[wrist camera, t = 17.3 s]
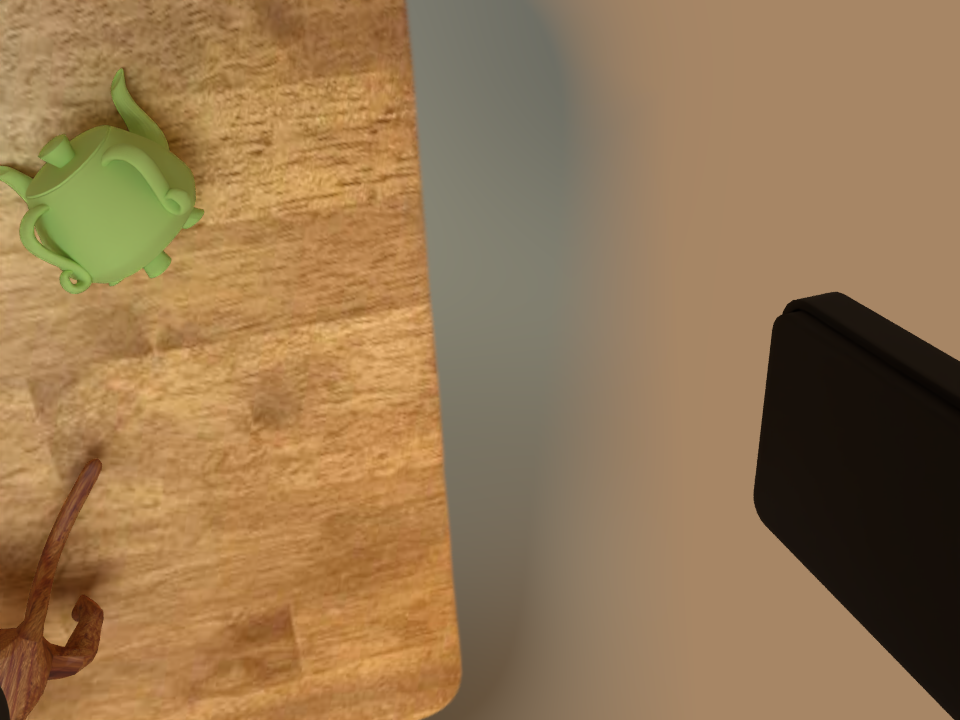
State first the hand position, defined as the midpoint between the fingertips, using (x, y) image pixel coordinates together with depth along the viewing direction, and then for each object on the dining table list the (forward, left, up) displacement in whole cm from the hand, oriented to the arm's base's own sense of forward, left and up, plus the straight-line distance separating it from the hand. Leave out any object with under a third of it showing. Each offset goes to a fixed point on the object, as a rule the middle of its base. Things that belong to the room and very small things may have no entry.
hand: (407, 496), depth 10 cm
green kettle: (0, -6, -28) cm, 29 cm away
